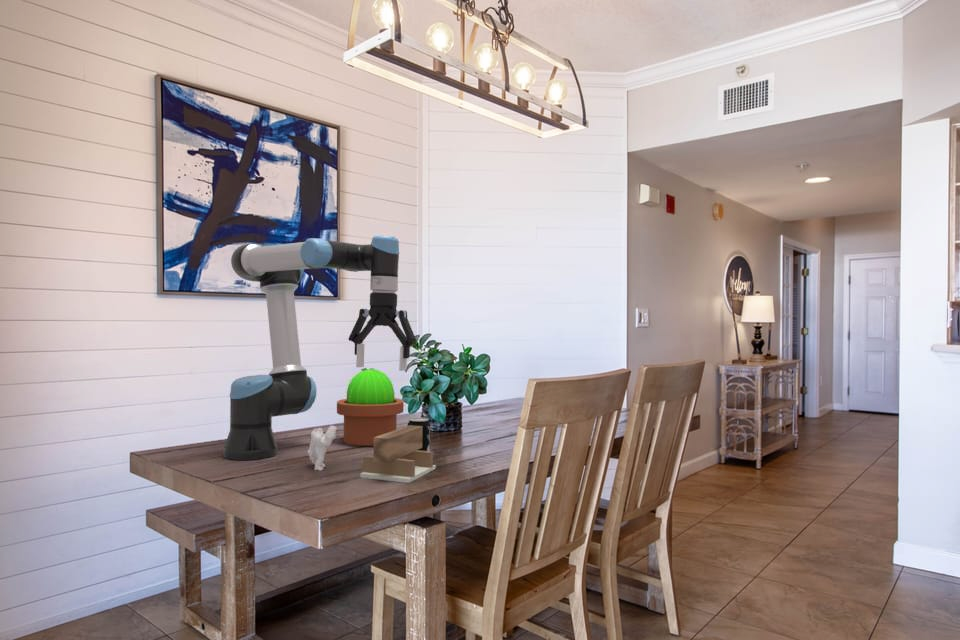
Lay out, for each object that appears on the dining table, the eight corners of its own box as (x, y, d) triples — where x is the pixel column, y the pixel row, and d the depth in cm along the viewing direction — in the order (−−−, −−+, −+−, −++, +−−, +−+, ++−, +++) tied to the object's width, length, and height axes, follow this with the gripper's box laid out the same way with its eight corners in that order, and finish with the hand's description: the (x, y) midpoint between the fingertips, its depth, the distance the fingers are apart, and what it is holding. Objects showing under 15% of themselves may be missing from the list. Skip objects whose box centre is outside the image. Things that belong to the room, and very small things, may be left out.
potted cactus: (399, 448, 193) (400, 369, 194) (329, 447, 193) (330, 369, 193) (406, 435, 215) (407, 365, 216) (344, 435, 215) (344, 364, 215)
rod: (373, 461, 153) (373, 437, 154) (409, 446, 172) (409, 425, 172) (387, 462, 152) (387, 438, 152) (422, 447, 171) (422, 426, 171)
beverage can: (426, 463, 173) (426, 421, 173) (403, 462, 175) (404, 420, 175) (432, 458, 180) (432, 417, 180) (411, 457, 181) (411, 416, 181)
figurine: (339, 469, 165) (339, 425, 165) (323, 473, 161) (324, 427, 161) (315, 463, 172) (316, 421, 172) (300, 466, 168) (301, 423, 168)
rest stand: (360, 477, 157) (360, 458, 157) (390, 464, 172) (390, 446, 172) (408, 482, 152) (408, 462, 152) (435, 468, 167) (435, 450, 167)
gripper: (337, 290, 170) (335, 366, 170) (417, 292, 161) (415, 373, 161) (352, 291, 177) (350, 364, 177) (430, 293, 168) (427, 370, 168)
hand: (381, 368), depth 169 cm, fingers open, 13 cm apart
